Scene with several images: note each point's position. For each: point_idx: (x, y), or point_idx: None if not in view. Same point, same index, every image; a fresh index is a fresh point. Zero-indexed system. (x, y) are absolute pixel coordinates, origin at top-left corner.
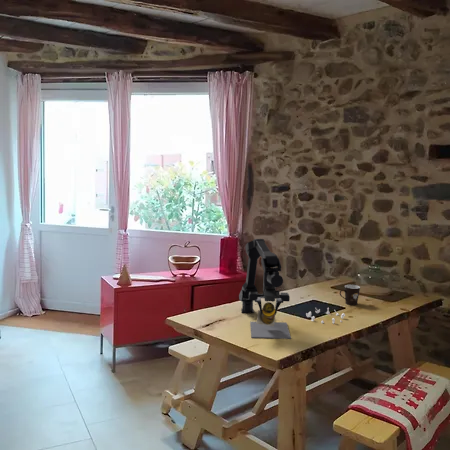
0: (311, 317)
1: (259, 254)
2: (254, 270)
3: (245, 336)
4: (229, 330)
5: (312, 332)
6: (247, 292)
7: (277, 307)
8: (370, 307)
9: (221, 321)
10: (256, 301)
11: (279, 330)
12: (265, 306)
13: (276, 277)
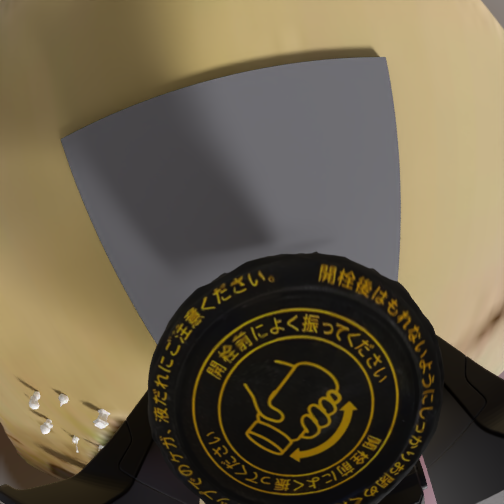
0: (106, 424)
1: None
2: None
3: (423, 89)
4: (499, 194)
5: (25, 298)
6: (409, 490)
7: (128, 435)
8: (57, 455)
9: (497, 307)
10: None
11: (180, 266)
12: (398, 405)
13: None
